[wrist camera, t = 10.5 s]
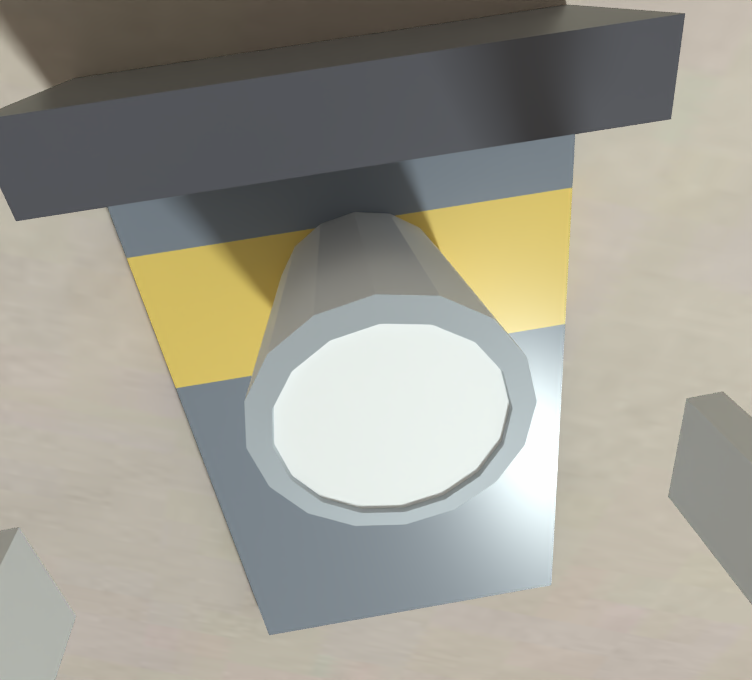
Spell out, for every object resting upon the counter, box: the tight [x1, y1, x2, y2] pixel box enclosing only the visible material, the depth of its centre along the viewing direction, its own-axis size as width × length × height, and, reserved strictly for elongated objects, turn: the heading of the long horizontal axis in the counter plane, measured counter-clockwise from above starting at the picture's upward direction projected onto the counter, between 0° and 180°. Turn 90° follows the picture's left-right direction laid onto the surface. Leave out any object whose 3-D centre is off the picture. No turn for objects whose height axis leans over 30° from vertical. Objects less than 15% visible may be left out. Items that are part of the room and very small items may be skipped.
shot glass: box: [244, 212, 537, 526], centre depth 17 cm, size 7×7×7 cm
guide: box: [0, 5, 685, 635], centre depth 20 cm, size 14×25×6 cm, turn 7°
